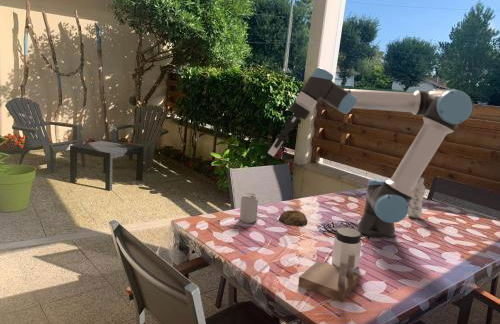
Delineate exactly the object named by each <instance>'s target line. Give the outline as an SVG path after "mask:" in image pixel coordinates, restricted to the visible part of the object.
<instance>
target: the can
mask: <svg viewBox="0 0 500 324" xmlns="http://www.w3.org/2000/svg"><path fill="white" fill-rule="evenodd" d="M258 204H259V197H258V195H257V194H255V193H253V192H250V193H249V192H246V193H243V194H242V196H241V197H240V210H239V220H240V221H241V222H242V223H246V224H254V223H255V222H256V221H257V220H258V219H257V218H258Z"/></svg>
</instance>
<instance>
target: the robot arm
mask: <svg viewBox="0 0 500 324" xmlns="http://www.w3.org/2000/svg"><path fill="white" fill-rule="evenodd" d="M333 79H334V75H333V73H330V72H329V70H326V69H325V68H323V67H320V66H319V67H316V68H314V70H313V71H312V73H311V75H310V76H309V77H308V79H307V80H306V82H305V84H304V85H303V87H302V89H300V92H297V93H296V95H297V97H296V98H295V99H294V100H295V101H293V102H292V103H291V105H290V107H289V109H288V110H289V111H290V112H291V113H293V114H292V115H291V116H289V117H288V118H287V120H286V122H285V123H284V128H283V129H282V131H281V132H280V134H276V136H275V138H276V139H275V140H274V142H273V144H272V145H271V147H270V149H268V151H267V154H268V155H270V156H272V157H274V156H275V155H276V154H277V152H278V151H279V149H280V148H281V146H282V145H283V143H284V142H285V141H287V140H288V135H289V134H290V133H291V131H293V130H294V128H295V127H296V126H297V125H298V123H299V121H298V120H299V118H300V119H302V120H304V121H305V120H307V118H308V117H309V115H310V112H311V111H313V110H314V108H315V106H316V105H317V104H318V102H319V100H322V101H324V102H325V103H326V104H327V105H329V106H330V107H331V108H332V107H333V109H335V110H337V111H338V112H339V113H343V114H344V115H346V114H348V113H350V111H351V110H352V109H359V110H360V109H361V110H375V111H377V110H378V111H388V112H389V111H390V112H404V113H405V112H406V113H411V114H412V115H414V116H421V117H422V119H423V124H422V127H421V128H420V129H419V131H418V133H417V135H416V136H415V137H414V138H415V139H414V140H413V142H412V143H411V144H410V146H409V148H408V150H407V151H406V153H405V155H404V156H403V157H402V159H401V161H400V163H399V164H398V166H397V167H396V170H395V171H394V173H393V175H392V176H391V177H390V178H389V179H383V178H382V179H381V178H370V179H368V182H367V185H366V186H367V187H366V193H365V194H366V195H365V201H364V202H365V203H364V210H363V214H362V217H361V218H360V220H359V222H358V225H357V231H359V232H360V233H361V234H362V235H363V234H364V235H366V236H368V237H372V238H377V239H390V238H393V237H394V236H395V235H396V228H395V224H396V223H399V222H401V221H403V220H404V219H405V218H406V217H407V216H408V210H409V205H410V201H411V199H412V197H413V194H412V189H413V187H414V186H415V184H416V183H417V181H418V179H419V178H420V177H421V176H422V174H423V172H425V169H426V168H427V166H429V165H428V164H429V163H430V162H431V160H432V158H433V157H434V155H435V154H436V152H437V151H438V149H439V148H440V146H441V144H442V143H443V141H444V139H445V137H446V136H447V135H448V134H452V133H454V132H455V130H456V129H457V127H458V126H459V124H461V123H463V122H465V121H467V119H468V118H469V117H470V115H472V114H471V113H472V110H473V103H472V99H471V97H470V96H469V94H467V93H466V92H464V91H462V90H459V89H455V88H451V89H435V90H433V89H432V90H415V92H402V91H386V90H370V89H355V88H354V89H352V88H351V89H350V88H343V87H341V86H340V85H338V84H336V83H335V82H334V81H333Z"/></svg>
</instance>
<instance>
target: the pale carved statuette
mask: <svg viewBox="0 0 500 324" xmlns="http://www.w3.org/2000/svg"><path fill="white" fill-rule="evenodd" d="M424 183H425V177H421V176H420V178H419V179H418V181H417V183H416V184H415V186H414V187H413V189H412V194H413V197H412V199H411V200H410V202H409V204H408V207H409V210H408V214H407V216H408V217H409V218H412V219H420V218H421V217H422V214H423V209H422V208H423V199H424V196H425V192H426V186H425V185H424Z"/></svg>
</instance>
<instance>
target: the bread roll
mask: <svg viewBox="0 0 500 324" xmlns="http://www.w3.org/2000/svg"><path fill="white" fill-rule="evenodd" d="M278 221H279V223H280V222H281V223H283V224H285V225H287V226H297V227H304V226H305V225H306V224H307V223H308V219H307V215H306V214H305V213H304V212H301V211H299V210H297V209H296V210H295V209H294V210H291V209H289V210H286V211H283V212H282V213H281V214H280V215H279V218H278Z"/></svg>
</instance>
